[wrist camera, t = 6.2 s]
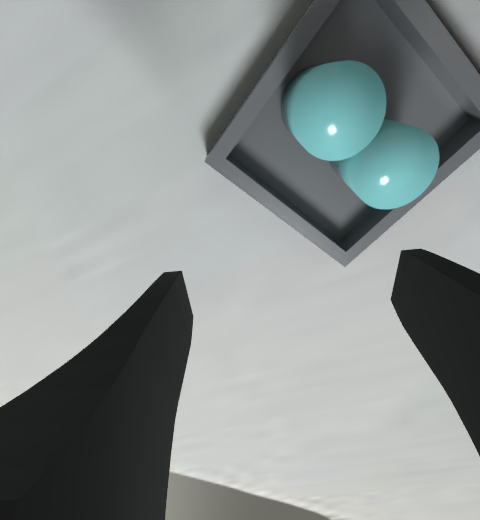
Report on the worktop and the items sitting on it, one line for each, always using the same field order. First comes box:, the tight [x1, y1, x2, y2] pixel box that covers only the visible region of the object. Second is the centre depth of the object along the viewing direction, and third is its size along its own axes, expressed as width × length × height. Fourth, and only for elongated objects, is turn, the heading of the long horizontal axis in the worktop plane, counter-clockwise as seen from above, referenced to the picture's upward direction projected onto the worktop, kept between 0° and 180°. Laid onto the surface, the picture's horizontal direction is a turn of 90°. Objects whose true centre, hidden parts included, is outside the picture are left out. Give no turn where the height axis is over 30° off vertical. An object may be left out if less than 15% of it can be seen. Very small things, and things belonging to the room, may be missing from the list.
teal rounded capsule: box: [281, 60, 386, 161], centre depth 14 cm, size 4×4×4 cm
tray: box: [205, 0, 480, 267], centre depth 16 cm, size 11×11×2 cm
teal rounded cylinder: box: [329, 118, 439, 209], centre depth 15 cm, size 4×4×4 cm
